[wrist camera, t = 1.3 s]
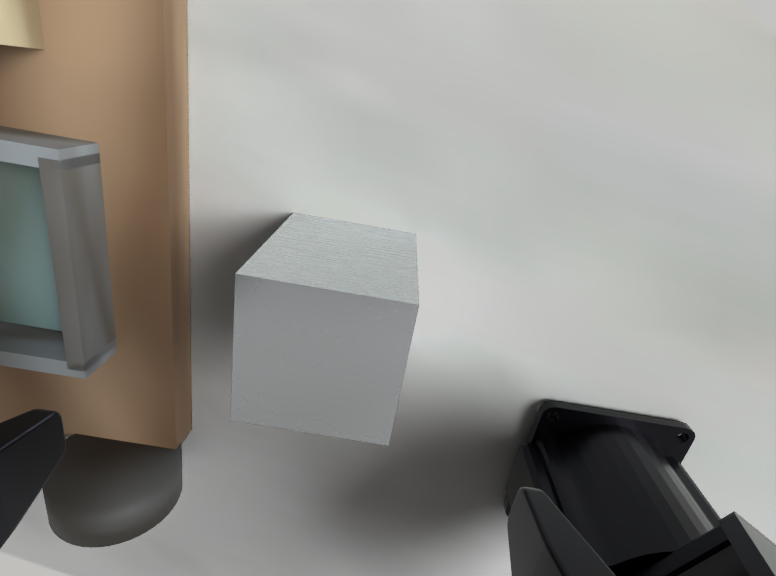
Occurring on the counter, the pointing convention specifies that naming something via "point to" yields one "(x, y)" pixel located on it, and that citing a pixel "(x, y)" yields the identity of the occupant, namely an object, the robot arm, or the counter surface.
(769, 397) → the counter surface
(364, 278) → the grey rectangular block
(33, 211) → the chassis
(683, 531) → the robot arm
